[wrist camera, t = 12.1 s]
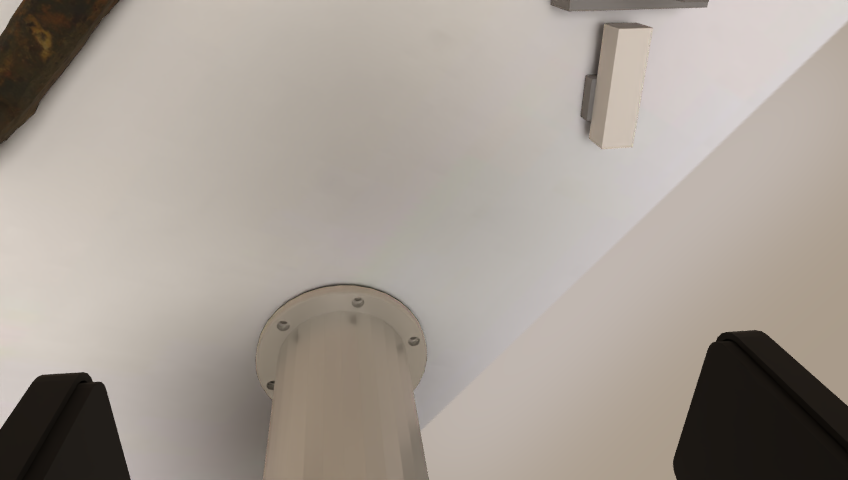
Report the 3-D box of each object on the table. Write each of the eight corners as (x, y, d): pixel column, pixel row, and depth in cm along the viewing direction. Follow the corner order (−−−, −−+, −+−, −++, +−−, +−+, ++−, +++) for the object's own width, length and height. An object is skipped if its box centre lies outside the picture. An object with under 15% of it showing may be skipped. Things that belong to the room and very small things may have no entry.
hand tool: (125, -146, 28) (89, -158, 24) (195, -77, 30) (173, -78, 26) (-77, 125, 32) (-136, 154, 28) (-6, 171, 34) (-52, 204, 30)
